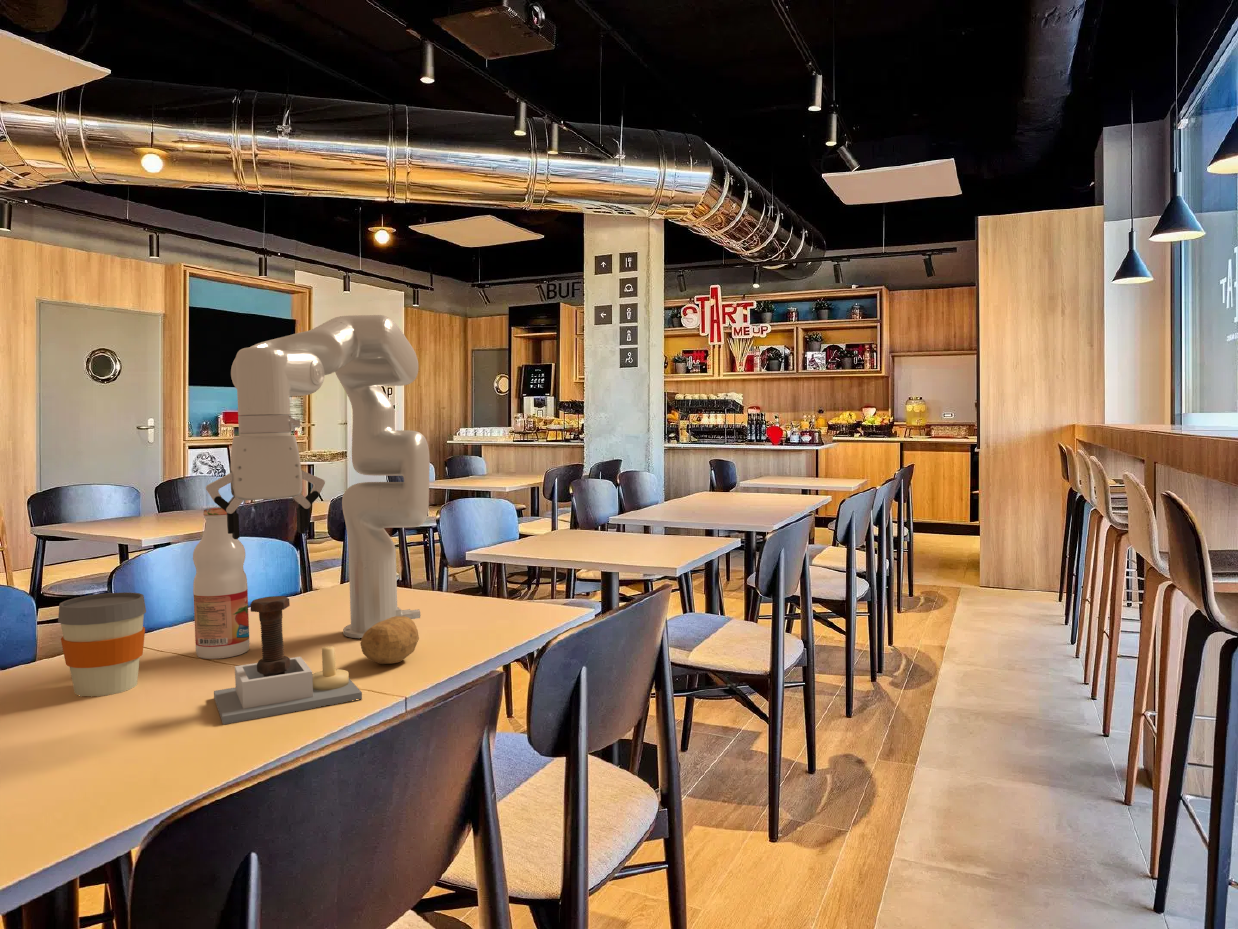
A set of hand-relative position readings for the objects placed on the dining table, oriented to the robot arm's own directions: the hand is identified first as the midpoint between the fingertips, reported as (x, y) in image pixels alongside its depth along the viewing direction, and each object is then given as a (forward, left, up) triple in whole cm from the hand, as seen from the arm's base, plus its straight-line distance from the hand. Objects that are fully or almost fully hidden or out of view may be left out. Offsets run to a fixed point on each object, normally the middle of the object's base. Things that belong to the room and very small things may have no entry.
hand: (269, 535), depth 131 cm
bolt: (0, +1, -25) cm, 25 cm away
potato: (-22, -11, -27) cm, 36 cm away
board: (-2, +1, -26) cm, 26 cm away
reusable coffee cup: (+23, -22, -27) cm, 42 cm away
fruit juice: (+4, -35, -27) cm, 44 cm away
